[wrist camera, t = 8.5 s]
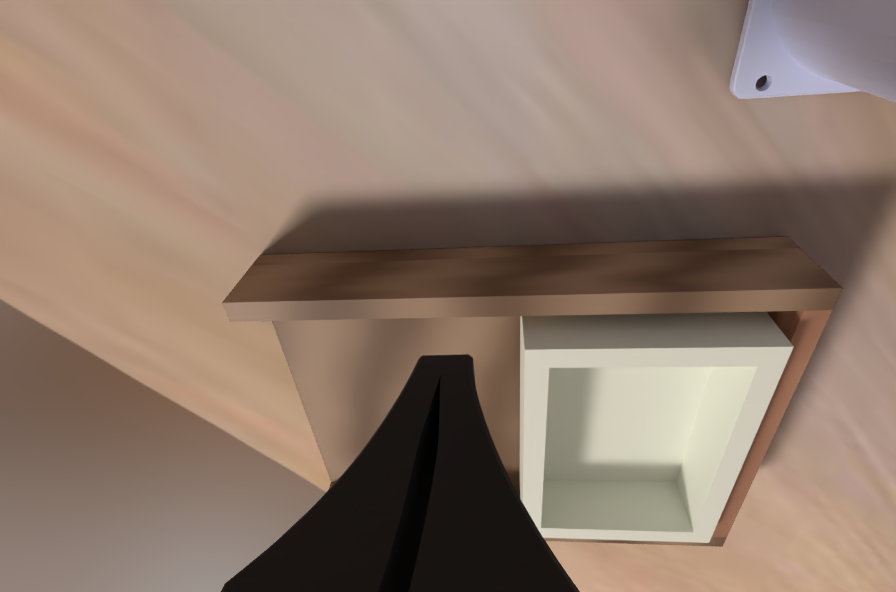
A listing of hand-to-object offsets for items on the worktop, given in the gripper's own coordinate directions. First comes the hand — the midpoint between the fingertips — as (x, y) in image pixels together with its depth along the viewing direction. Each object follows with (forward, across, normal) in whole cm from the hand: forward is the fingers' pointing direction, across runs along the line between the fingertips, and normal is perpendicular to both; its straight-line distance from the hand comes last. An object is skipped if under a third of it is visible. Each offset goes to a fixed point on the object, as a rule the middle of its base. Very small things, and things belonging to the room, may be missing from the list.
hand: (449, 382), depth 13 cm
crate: (+9, -7, +11) cm, 16 cm away
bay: (+10, -2, +11) cm, 15 cm away
